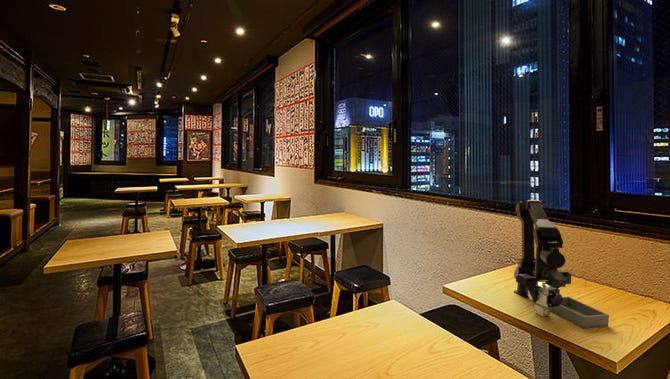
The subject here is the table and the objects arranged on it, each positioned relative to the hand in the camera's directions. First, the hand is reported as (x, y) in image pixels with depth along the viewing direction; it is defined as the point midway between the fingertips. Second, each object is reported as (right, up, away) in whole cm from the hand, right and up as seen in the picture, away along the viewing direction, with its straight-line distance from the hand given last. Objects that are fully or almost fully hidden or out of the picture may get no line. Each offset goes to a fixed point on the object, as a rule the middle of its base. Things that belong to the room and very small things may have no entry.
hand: (542, 301), depth 125 cm
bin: (+11, -5, -1) cm, 12 cm away
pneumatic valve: (0, -5, 0) cm, 5 cm away
